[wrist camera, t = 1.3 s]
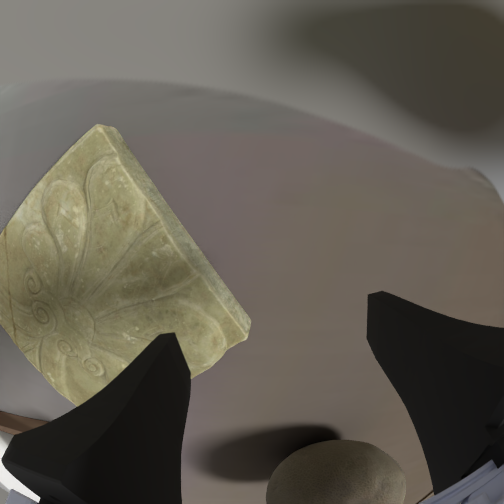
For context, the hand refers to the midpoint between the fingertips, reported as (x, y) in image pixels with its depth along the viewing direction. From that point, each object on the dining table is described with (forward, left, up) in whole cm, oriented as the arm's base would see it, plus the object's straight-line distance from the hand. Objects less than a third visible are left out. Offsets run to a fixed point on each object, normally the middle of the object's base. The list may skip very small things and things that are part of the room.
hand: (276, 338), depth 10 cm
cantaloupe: (-25, -4, -11) cm, 28 cm away
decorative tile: (-1, +13, -11) cm, 18 cm away
